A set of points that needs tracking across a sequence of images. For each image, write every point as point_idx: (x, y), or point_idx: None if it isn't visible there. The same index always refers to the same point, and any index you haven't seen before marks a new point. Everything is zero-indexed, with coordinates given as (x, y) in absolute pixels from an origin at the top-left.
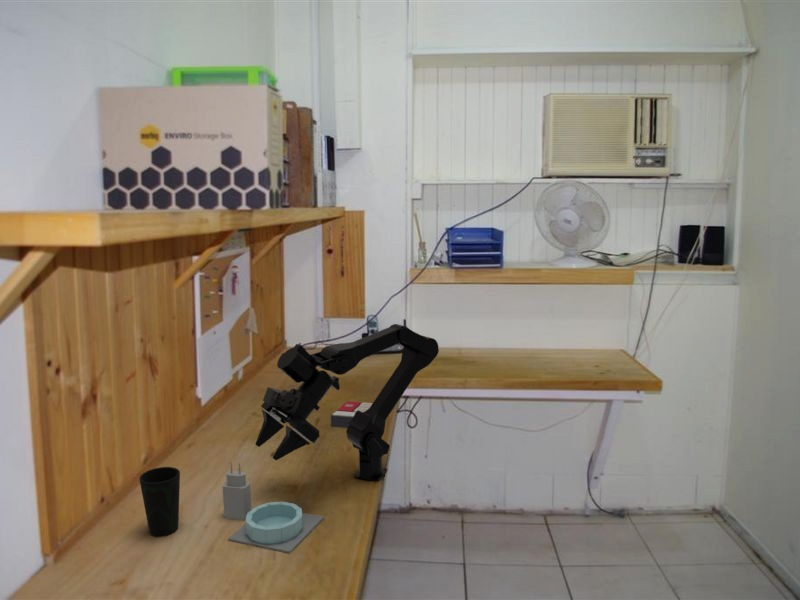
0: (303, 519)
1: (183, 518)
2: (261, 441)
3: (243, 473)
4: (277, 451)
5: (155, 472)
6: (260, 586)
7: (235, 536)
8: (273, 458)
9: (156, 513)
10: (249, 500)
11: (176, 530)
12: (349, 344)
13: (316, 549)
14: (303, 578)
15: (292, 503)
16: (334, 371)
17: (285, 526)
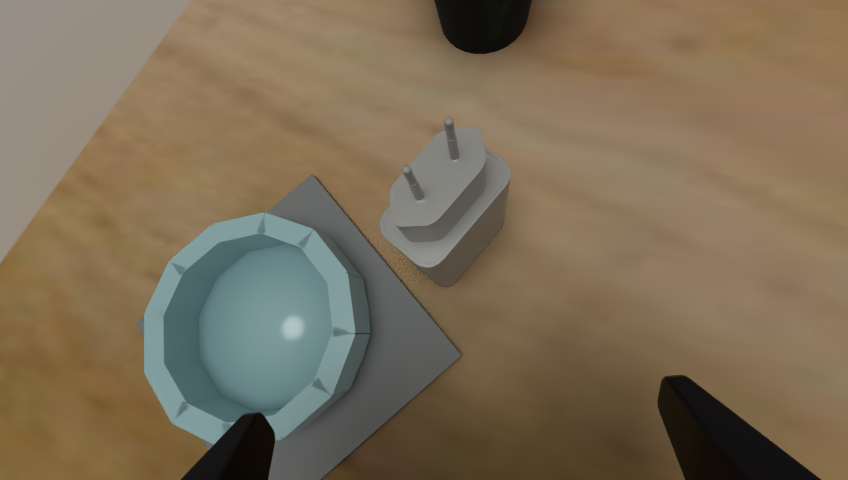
0: (283, 448)
1: (532, 71)
2: (691, 452)
3: (413, 217)
4: (187, 476)
5: None
6: (68, 206)
7: (310, 196)
8: (245, 414)
9: None
10: (418, 267)
11: (457, 47)
12: None
13: (111, 407)
14: (25, 314)
15: (290, 431)
16: None
17: (144, 332)
